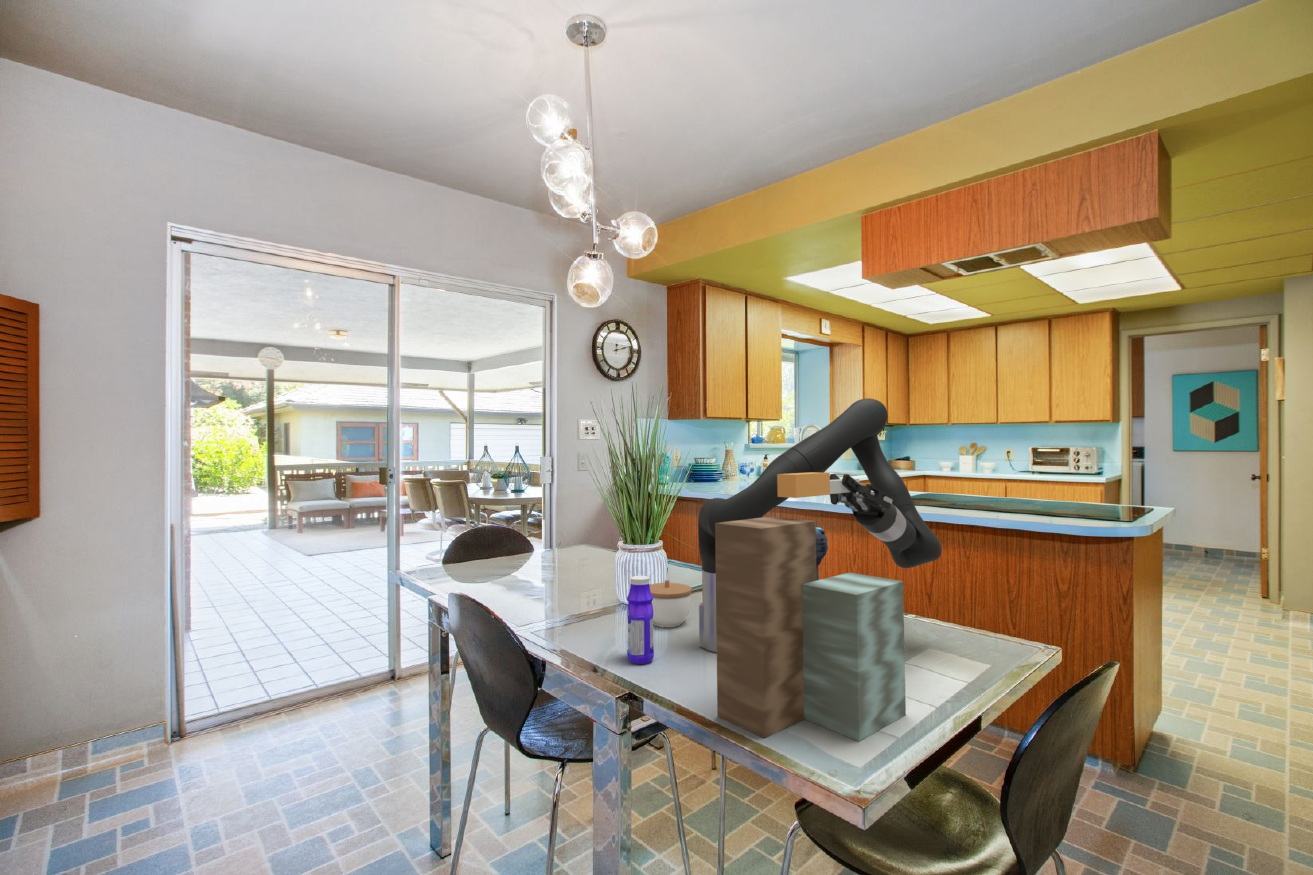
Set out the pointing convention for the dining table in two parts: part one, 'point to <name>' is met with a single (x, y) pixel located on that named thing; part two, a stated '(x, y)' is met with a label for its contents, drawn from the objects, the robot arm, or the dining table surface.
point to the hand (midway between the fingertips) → (837, 478)
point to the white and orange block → (808, 485)
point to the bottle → (640, 621)
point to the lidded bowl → (670, 603)
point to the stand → (803, 635)
